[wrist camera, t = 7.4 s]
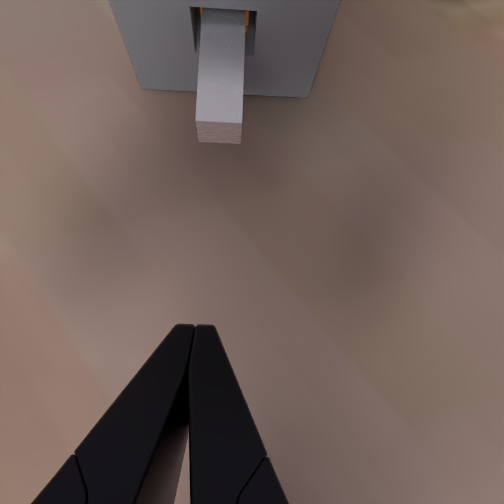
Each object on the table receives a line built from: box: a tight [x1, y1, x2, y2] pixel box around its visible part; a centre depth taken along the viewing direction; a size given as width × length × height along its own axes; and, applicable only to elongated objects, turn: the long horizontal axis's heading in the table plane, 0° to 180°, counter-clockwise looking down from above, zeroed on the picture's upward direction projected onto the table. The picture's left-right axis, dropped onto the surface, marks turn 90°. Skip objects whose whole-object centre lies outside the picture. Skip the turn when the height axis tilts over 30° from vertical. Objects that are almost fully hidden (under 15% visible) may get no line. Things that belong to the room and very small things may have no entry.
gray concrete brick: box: [108, 0, 341, 98], centre depth 19 cm, size 3×10×10 cm, turn 89°
